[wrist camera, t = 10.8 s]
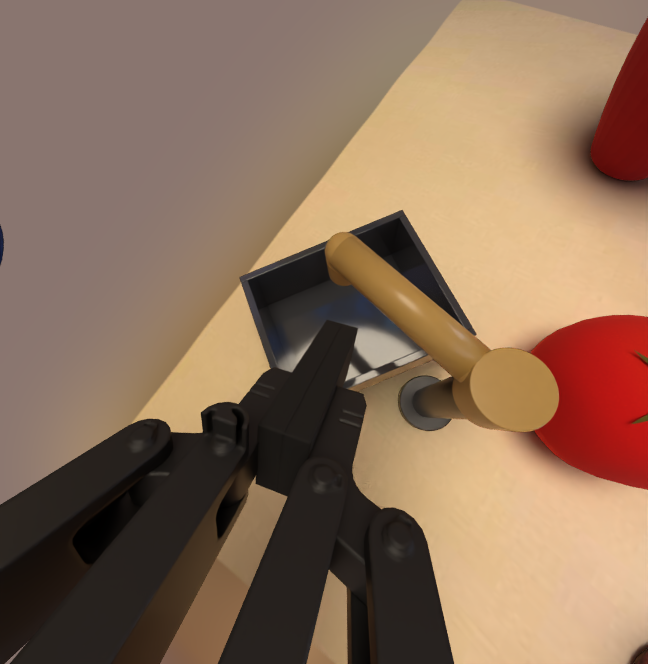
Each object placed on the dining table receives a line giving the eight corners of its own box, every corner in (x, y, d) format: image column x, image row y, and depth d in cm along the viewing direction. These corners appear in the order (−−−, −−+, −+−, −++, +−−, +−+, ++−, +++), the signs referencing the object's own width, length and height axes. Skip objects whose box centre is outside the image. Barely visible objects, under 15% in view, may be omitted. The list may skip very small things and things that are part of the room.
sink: (263, 305, 31) (238, 276, 24) (392, 252, 31) (402, 209, 25) (302, 414, 27) (286, 414, 21) (448, 353, 28) (477, 334, 21)
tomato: (475, 421, 26) (552, 425, 16) (528, 315, 28) (626, 260, 18) (619, 506, 23) (824, 577, 13) (666, 381, 25) (874, 359, 15)
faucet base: (389, 388, 27) (418, 366, 15) (435, 369, 27) (503, 331, 15) (412, 438, 26) (466, 460, 13) (461, 418, 26) (560, 421, 13)
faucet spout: (531, 394, 14) (578, 389, 11) (486, 443, 14) (523, 451, 11) (353, 243, 18) (353, 208, 15) (313, 279, 17) (304, 250, 14)
